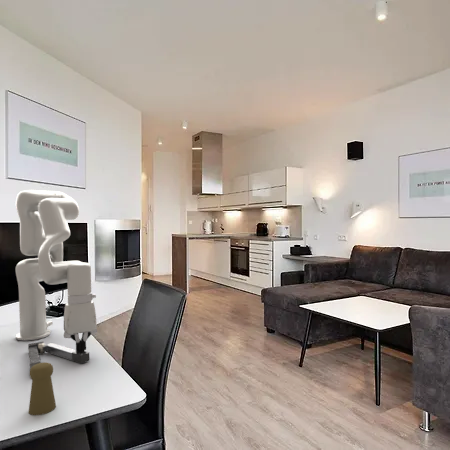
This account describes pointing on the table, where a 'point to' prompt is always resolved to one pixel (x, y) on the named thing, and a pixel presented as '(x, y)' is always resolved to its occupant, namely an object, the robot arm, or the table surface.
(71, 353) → the tong arm
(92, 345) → the table surface
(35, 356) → the tong base
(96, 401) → the table surface
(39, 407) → the cork
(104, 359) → the table surface
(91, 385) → the table surface
